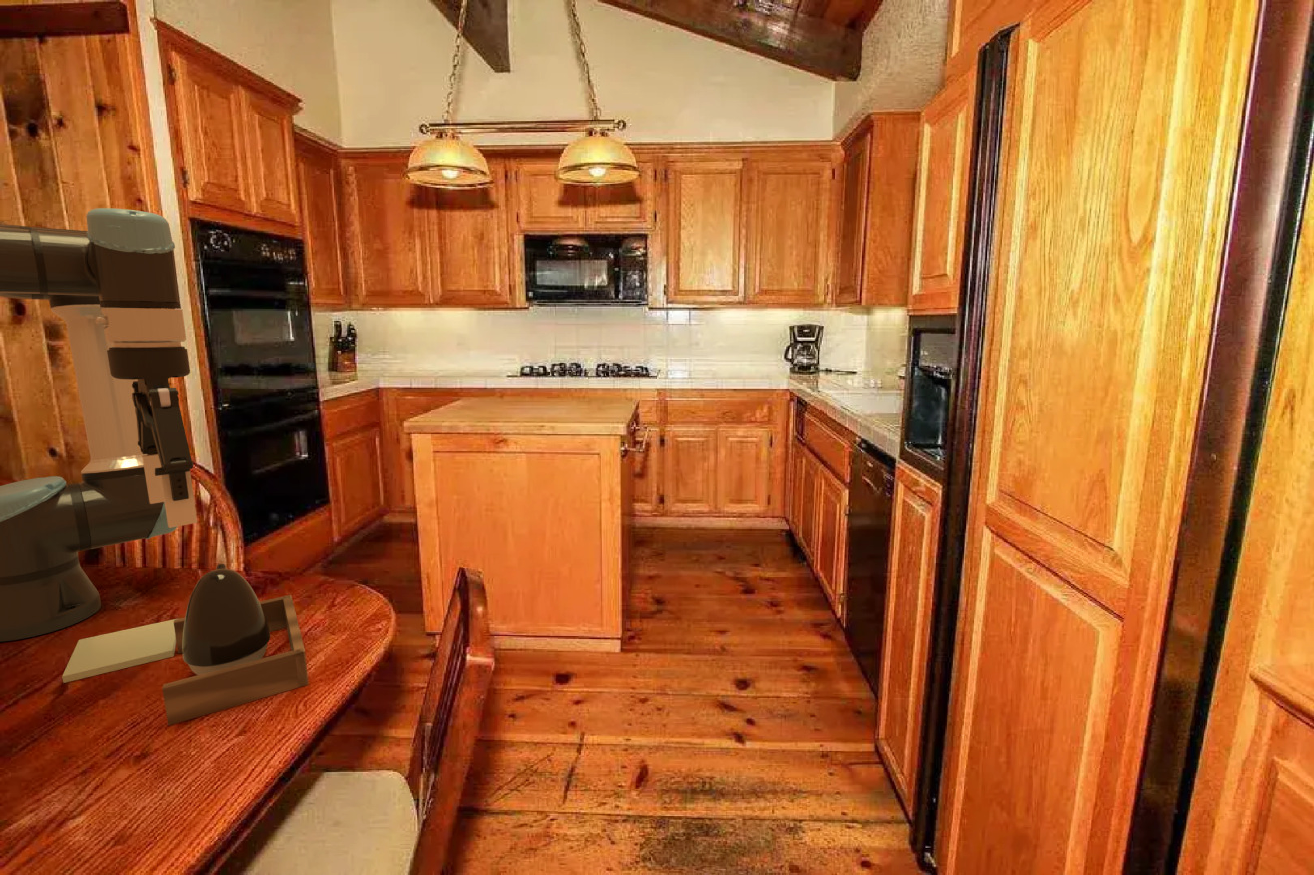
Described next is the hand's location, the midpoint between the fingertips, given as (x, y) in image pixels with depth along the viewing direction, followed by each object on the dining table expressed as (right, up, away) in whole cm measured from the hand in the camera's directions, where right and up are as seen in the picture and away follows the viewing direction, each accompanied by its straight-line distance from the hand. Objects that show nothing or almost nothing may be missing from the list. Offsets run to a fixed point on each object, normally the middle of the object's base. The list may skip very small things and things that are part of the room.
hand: (172, 512), depth 77 cm
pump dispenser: (+1, -24, +10) cm, 26 cm away
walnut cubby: (+2, -24, +10) cm, 26 cm away
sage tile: (-19, -23, +14) cm, 33 cm away
